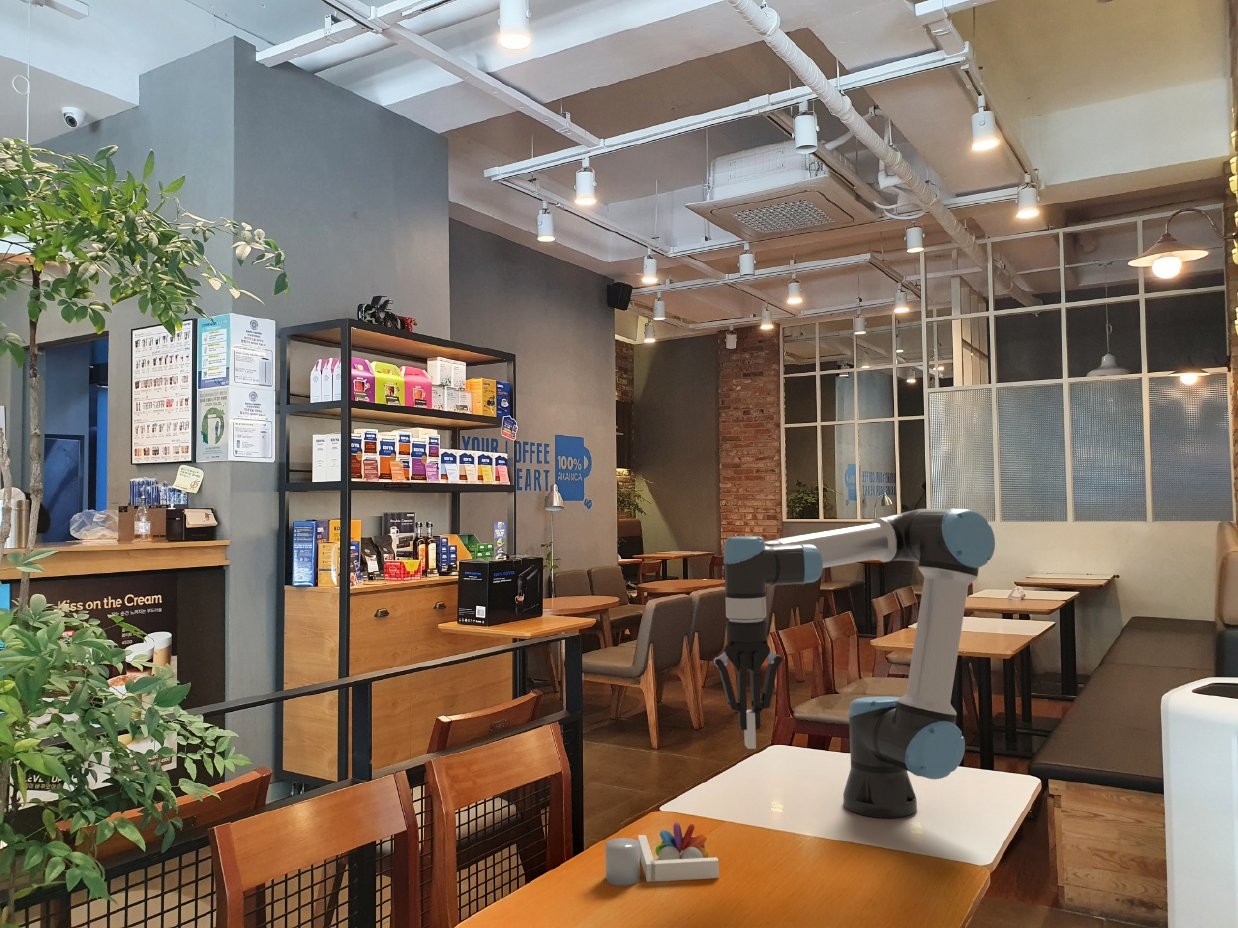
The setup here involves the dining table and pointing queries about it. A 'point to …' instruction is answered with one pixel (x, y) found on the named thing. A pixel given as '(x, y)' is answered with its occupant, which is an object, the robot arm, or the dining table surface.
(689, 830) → the rainbow petal fan toy
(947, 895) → the dining table surface
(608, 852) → the short grey cylinder
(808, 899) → the dining table surface
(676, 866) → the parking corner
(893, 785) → the robot arm
